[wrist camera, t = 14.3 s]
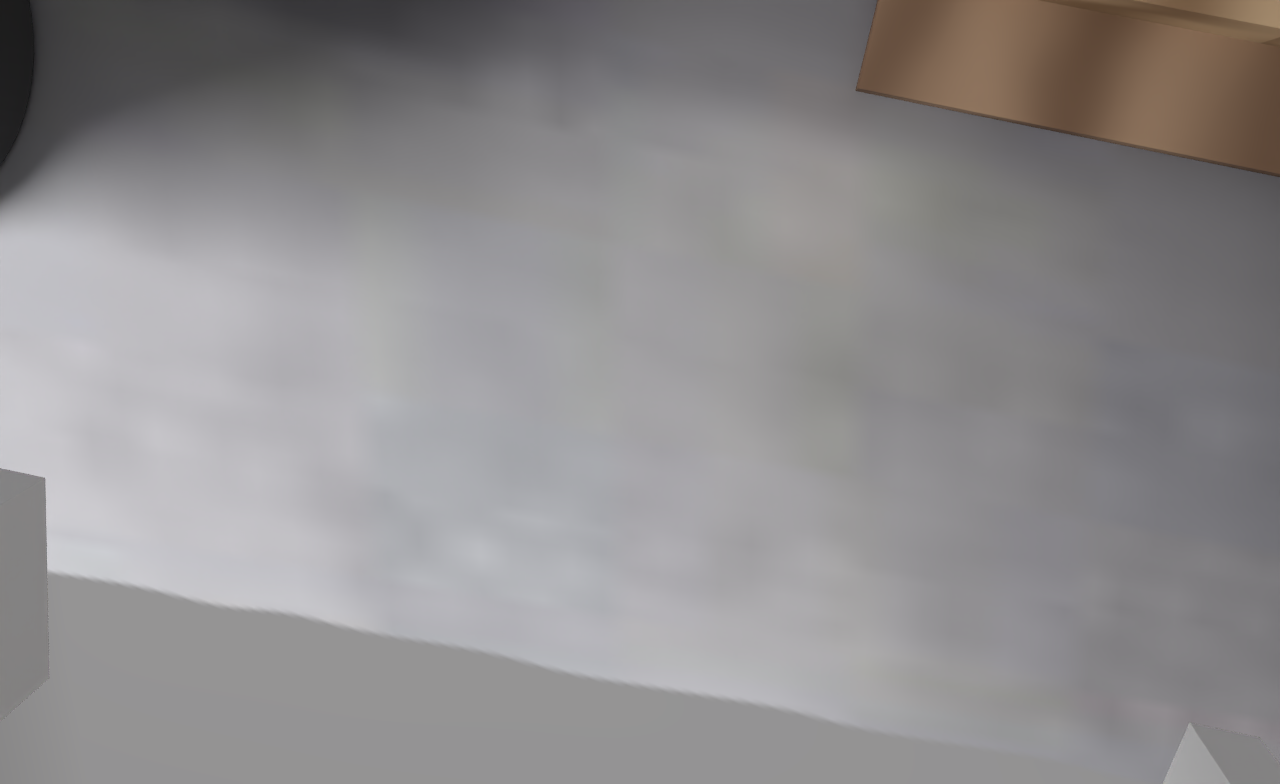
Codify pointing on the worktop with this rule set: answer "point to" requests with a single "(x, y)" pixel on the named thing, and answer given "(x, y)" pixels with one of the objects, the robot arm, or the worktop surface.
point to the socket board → (1094, 69)
